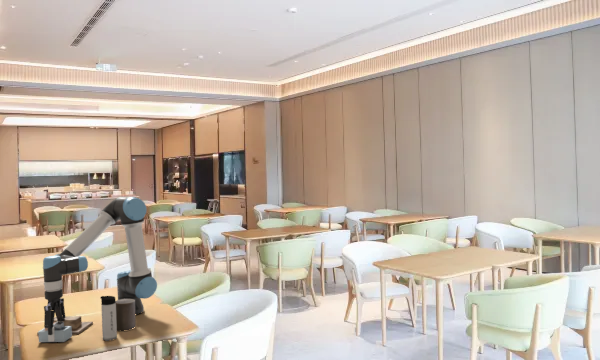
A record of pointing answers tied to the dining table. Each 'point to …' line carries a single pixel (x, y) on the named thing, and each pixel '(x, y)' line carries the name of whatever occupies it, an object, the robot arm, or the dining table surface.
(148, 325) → the dining table surface
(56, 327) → the metal block
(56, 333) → the blue-grey open box
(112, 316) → the travel mug
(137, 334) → the dining table surface
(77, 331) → the dock
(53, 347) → the dining table surface
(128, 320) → the pillar candle
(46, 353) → the dining table surface
